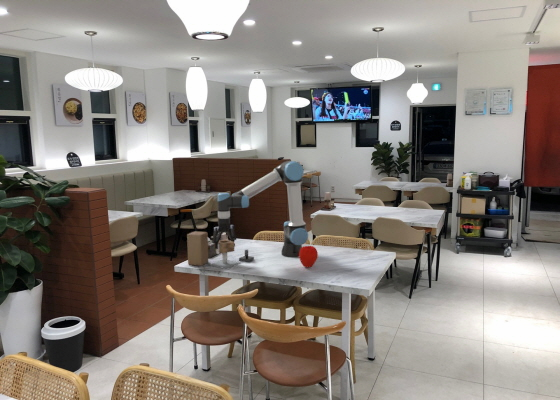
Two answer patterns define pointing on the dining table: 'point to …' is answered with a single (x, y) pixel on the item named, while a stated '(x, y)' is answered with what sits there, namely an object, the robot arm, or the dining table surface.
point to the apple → (308, 256)
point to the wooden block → (197, 248)
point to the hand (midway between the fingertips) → (224, 252)
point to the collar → (226, 246)
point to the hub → (224, 262)
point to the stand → (246, 257)
